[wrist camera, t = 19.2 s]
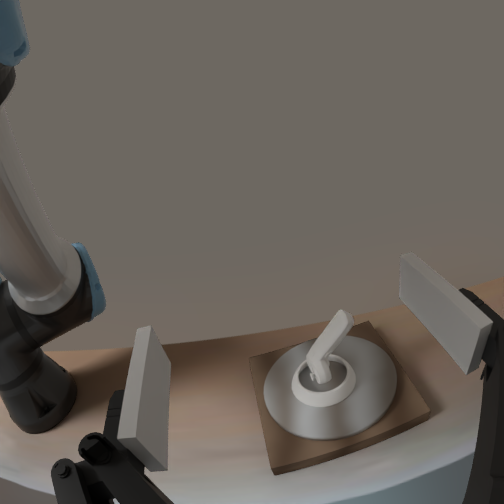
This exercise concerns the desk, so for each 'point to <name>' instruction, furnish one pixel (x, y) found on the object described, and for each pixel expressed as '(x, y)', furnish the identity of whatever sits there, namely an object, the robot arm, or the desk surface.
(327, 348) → the white vr controller
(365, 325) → the rosette stand
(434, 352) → the desk surface
